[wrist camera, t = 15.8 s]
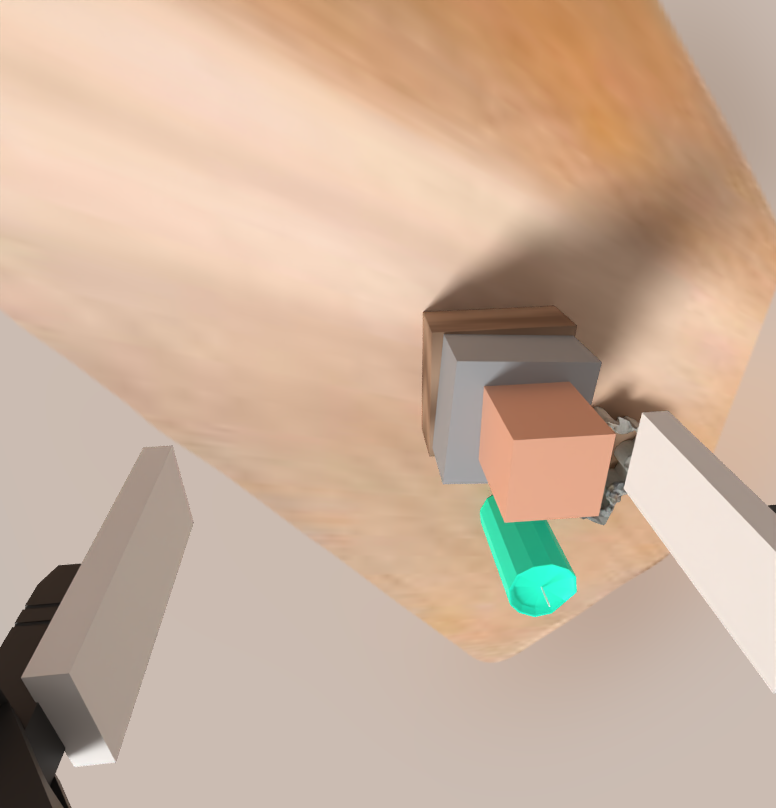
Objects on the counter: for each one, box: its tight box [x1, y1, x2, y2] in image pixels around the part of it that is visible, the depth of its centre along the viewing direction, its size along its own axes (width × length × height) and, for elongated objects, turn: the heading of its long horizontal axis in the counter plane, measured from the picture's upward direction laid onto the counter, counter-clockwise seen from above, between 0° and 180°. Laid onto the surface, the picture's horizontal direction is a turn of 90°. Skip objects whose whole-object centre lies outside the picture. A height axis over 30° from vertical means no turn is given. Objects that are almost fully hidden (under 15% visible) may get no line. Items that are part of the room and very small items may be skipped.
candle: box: [480, 495, 577, 617], centre depth 50 cm, size 6×6×12 cm
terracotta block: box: [479, 382, 616, 523], centre depth 35 cm, size 6×6×7 cm
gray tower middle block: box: [432, 334, 602, 484], centre depth 41 cm, size 10×10×5 cm
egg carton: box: [579, 406, 639, 525], centre depth 51 cm, size 11×8×4 cm
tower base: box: [422, 306, 577, 456], centre depth 45 cm, size 11×11×5 cm
